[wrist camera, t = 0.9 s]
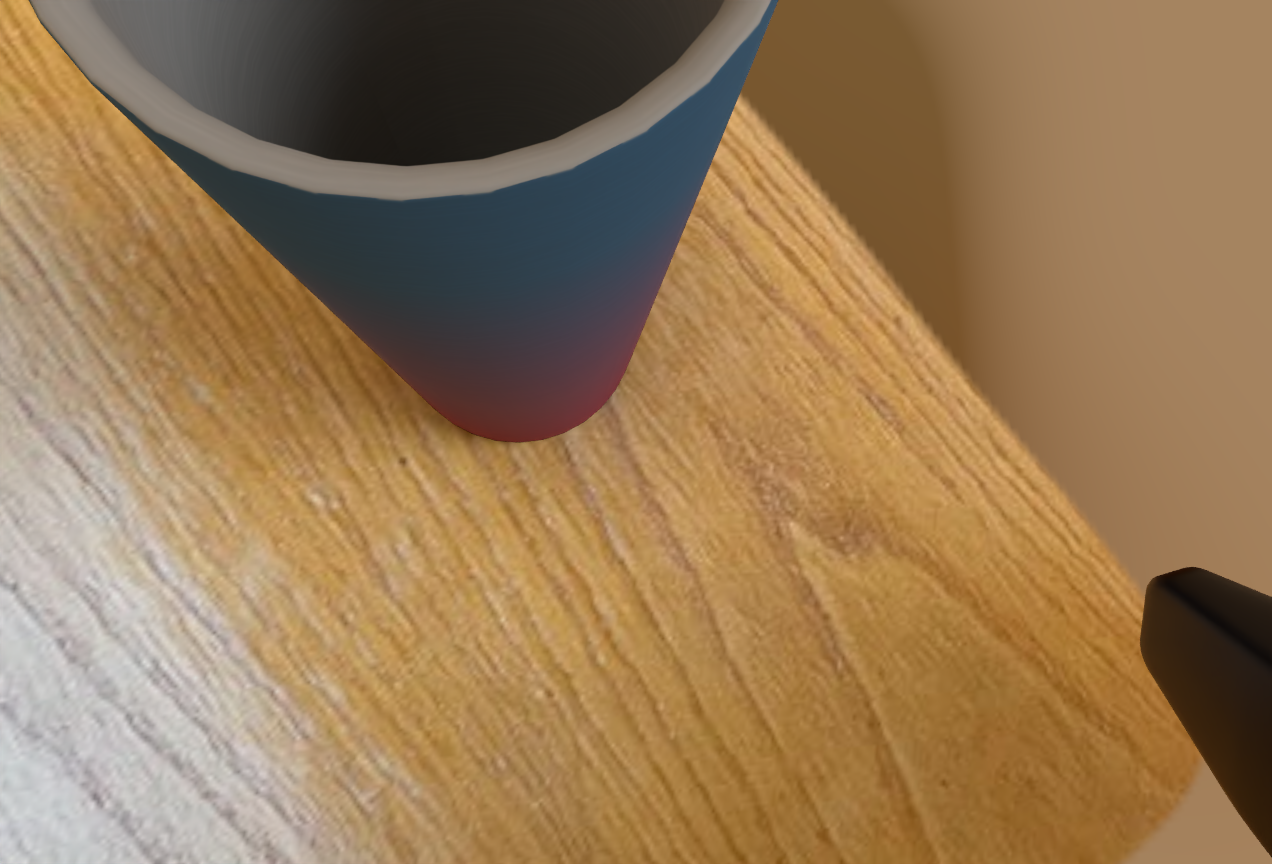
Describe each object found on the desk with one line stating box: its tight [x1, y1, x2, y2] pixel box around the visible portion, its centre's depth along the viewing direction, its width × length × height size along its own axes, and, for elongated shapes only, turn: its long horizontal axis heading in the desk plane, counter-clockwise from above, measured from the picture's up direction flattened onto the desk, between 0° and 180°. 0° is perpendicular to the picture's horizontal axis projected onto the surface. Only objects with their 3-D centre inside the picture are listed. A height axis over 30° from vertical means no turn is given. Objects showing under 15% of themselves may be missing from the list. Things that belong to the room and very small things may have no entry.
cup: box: [29, 0, 778, 442], centre depth 16 cm, size 7×7×15 cm
